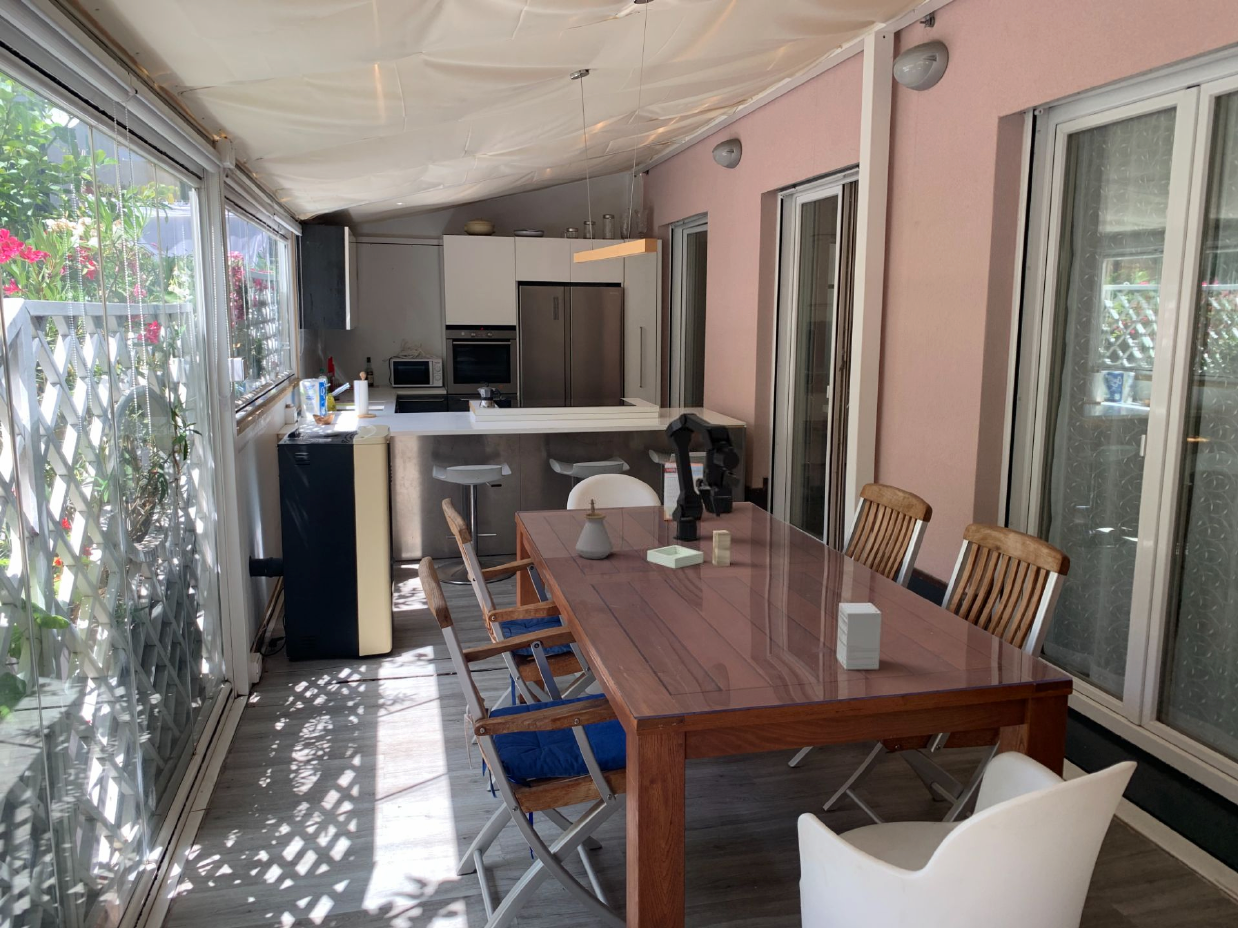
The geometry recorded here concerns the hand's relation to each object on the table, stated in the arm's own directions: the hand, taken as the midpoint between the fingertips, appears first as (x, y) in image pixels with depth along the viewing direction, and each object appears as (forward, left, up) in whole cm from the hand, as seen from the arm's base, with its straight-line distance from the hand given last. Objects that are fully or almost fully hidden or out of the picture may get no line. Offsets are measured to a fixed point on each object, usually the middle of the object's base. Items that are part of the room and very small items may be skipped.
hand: (713, 513), depth 297 cm
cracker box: (-39, +25, -12) cm, 48 cm away
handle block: (+13, -10, -12) cm, 20 cm away
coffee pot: (-22, -31, -12) cm, 40 cm away
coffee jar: (-42, +47, -12) cm, 64 cm away
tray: (+2, -18, -12) cm, 22 cm away
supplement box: (+88, -47, -12) cm, 100 cm away
